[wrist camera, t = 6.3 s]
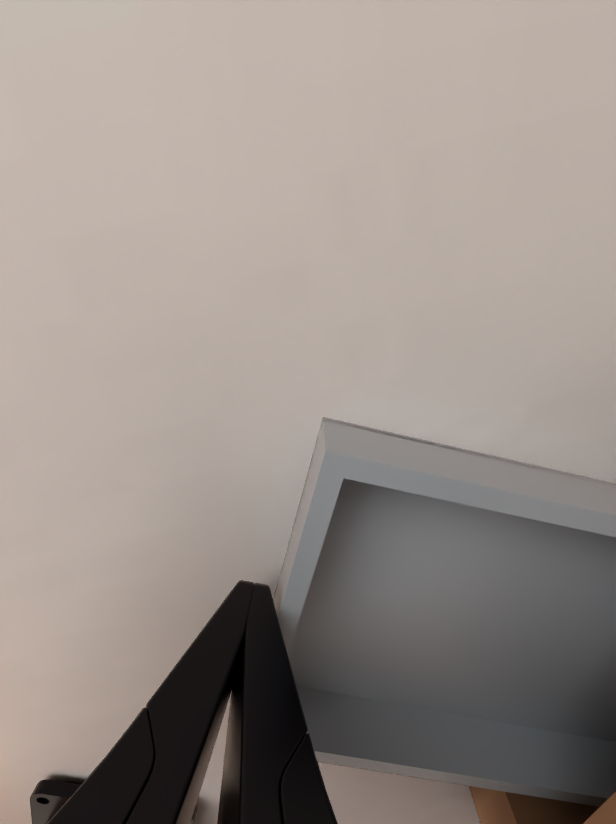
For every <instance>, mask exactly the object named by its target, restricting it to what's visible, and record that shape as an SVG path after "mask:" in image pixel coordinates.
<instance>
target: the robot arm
mask: <svg viewBox="0 0 616 824" xmlns="http://www.w3.org/2000/svg"><path fill="white" fill-rule="evenodd" d="M231 690H232V691H231ZM230 694H231V700H230V709H229V719H228V728H227V738H226V747H225V757H224V766H223V776H222V785H221V794H220V804H219V813H218V823H217V824H338V823H337V821H336V818H335V815H334V812H333V809H332V806H331V803H330V800H329V798H328V795H327V792H326V789H325V786H324V782H323V779H322V776H321V772H320V769H319V766H318V762H317V759H316V756H315V752H314V748H313V745H312V741H311V737H310V734H309V733H307V732H308V727H307V723H306V720H305V716H304V712H303V709H302V705H301V701H300V697H299V694H298V690H297V686H296V683H295V679H294V675H293V672H292V668H291V664H290V661H289V657H288V653H287V650H286V646H285V642H284V639H283V635H282V631H281V628H280V624H279V620H278V616H277V613H276V609H275V605H274V602H273V598H272V594H271V591H270V588H269V586H268V585H265V584H259V583H255V584H254V583H253V582H248V581H243V580H241V581H239V582H238V583H237V584H236V586H235V587H234V588H233V590H232V591H231V592H230V594H229V595H228V596H227V598H226V599H225V600H224V602H223V603H222V604H221V606H220V607H219V608H218V610H217V611H216V612H215V614H214V615H213V616H212V618H211V619H210V620H209V622H208V623H207V624H206V626H205V627H204V628H203V630H202V631H201V632H200V634H199V635H198V636H197V638H196V639H195V640H194V642H193V643H192V644H191V646H190V647H189V648H188V650H187V651H186V652H185V654H184V655H183V656H182V658H181V659H180V660H179V662H178V663H177V664H176V666H175V667H174V668H173V670H172V671H171V672H170V674H169V675H168V676H167V678H166V679H165V680H164V682H163V683H162V684H161V686H160V687H159V688H158V690H157V691H156V692H155V694H154V695H153V696H152V698H151V699H150V700H149V702H148V703H147V705H146V708H143V709H142V711H141V712H140V713H139V714H138V716H137V717H136V718H135V720H134V721H133V722H132V724H131V725H130V726H129V728H128V729H127V730H126V732H125V733H124V734H123V735H122V737H121V738H120V739H119V740H118V742H117V743H116V744H115V745H114V747H113V748H112V749H111V751H110V752H109V753H108V754H107V756H106V757H105V758H104V759H103V760H102V762H101V763H100V764H99V765H98V766H97V767H96V768H95V770H94V771H93V772H92V773H91V774H90V775H89V777H88V778H87V779H86V780H85V781H84V782H83V784H82V785H80V784H74V783H67V782H60V781H54V780H42V781H40V782H39V783H38V784H37V786H36V788H35V790H34V792H33V793H32V795H31V797H30V805H31V816H32V824H194V820H195V815H196V811H197V806H196V803H197V799H198V796H199V793H200V790H201V787H202V783H203V780H204V777H205V774H206V771H207V767H208V764H209V761H210V758H211V755H212V751H213V748H214V745H215V742H216V739H217V735H218V732H219V729H220V726H221V723H222V719H223V716H224V713H225V710H226V707H227V703H228V700H229V697H230Z"/></svg>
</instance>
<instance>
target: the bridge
mask: <svg viewBox="0 0 616 824" xmlns="http://www.w3.org/2000/svg"><path fill="white" fill-rule="evenodd" d="M469 788H470V791H471V794H472V797H473V800H474V804H475V807H476V810H477V813H478V816H479V819H480V823H481V824H616V792H615V793H614V794H613V795H612V796H611V797H610V798H609V799H608V800H607V801H606V802H605V803H603V804H602V805H601V806H600V807H597V806H591V805H585V804H579V803H572V802H566V801H560V800H554V799H547V798H541V797H535V796H529V795H522V794H516V793H510V792H504V791H497V790H491V789H485V788H479V787H472V786H469Z"/></svg>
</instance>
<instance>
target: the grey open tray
mask: <svg viewBox="0 0 616 824" xmlns="http://www.w3.org/2000/svg"><path fill="white" fill-rule="evenodd" d="M273 602H274V605H275V609H276V613H277V616H278V620H279V624H280V628H281V631H282V635H283V639H284V642H285V646H286V650H287V653H288V657H289V661H290V664H291V668H292V672H293V675H294V679H295V683H296V686H297V690H298V694H299V697H300V701H301V705H302V709H303V712H304V716H305V720H306V723H307V727H308V732H307V733H309V734H310V737H311V741H312V745H313V748H314V752H315V756H316V759H317V762H322V763H329V764H335V765H341V766H347V767H354V768H360V769H366V770H372V771H379V772H385V773H391V774H397V775H404V776H410V777H416V778H422V779H429V780H435V781H441V782H447V783H454V784H460V785H466V786H472V787H479V788H485V789H491V790H497V791H504V792H510V793H516V794H522V795H529V796H535V797H541V798H547V799H554V800H560V801H566V802H572V803H579V804H585V805H591V806H597V807H600V806H601V805H602V804H603V803H605V802H606V801H607V800H608V799H609V798H610V797H611V796H612V795H613V794H614V793H615V792H616V484H614V483H610V482H606V481H601V480H597V479H593V478H588V477H584V476H579V475H575V474H571V473H566V472H562V471H558V470H553V469H549V468H544V467H540V466H536V465H531V464H527V463H522V462H518V461H514V460H509V459H505V458H501V457H496V456H492V455H487V454H483V453H479V452H474V451H470V450H466V449H461V448H457V447H452V446H448V445H444V444H439V443H435V442H431V441H426V440H422V439H417V438H413V437H409V436H404V435H400V434H395V433H391V432H387V431H382V430H378V429H374V428H369V427H365V426H360V425H356V424H352V423H347V422H343V421H339V420H334V419H330V418H325V417H323V418H322V422H321V426H320V430H319V433H318V437H317V441H316V444H315V448H314V452H313V455H312V459H311V463H310V467H309V470H308V474H307V478H306V481H305V485H304V489H303V492H302V496H301V500H300V504H299V507H298V511H297V515H296V518H295V522H294V526H293V529H292V533H291V537H290V541H289V544H288V548H287V552H286V555H285V559H284V563H283V566H282V570H281V574H280V578H279V581H278V585H277V589H276V592H275V596H274V600H273Z"/></svg>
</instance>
